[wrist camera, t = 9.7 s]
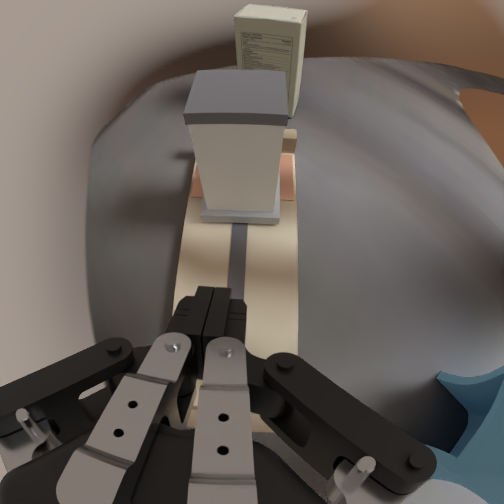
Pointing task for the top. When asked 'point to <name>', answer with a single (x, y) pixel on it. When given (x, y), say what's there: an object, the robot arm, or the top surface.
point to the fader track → (248, 268)
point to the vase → (477, 436)
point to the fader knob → (238, 142)
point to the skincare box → (272, 43)
